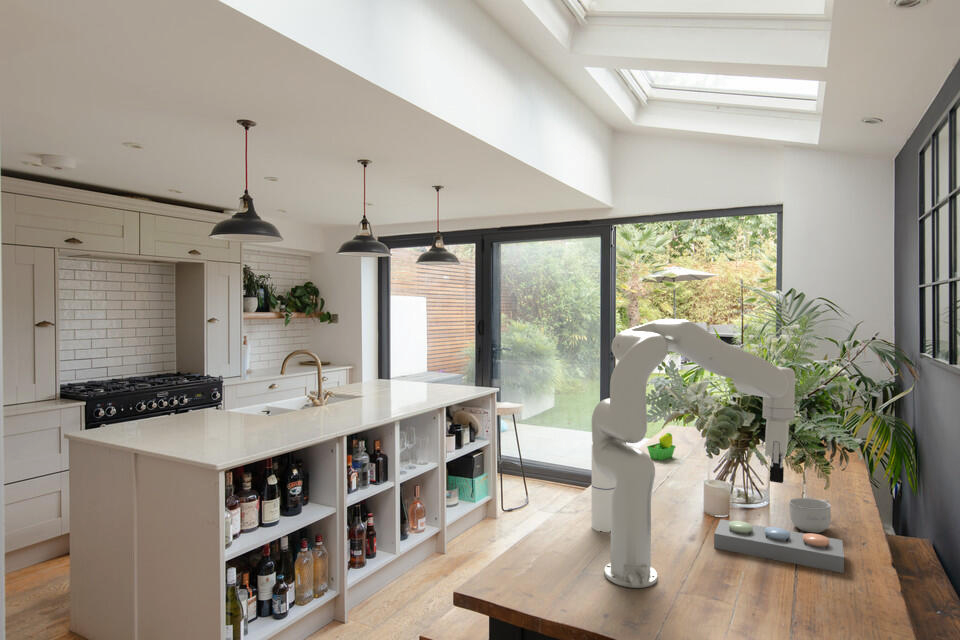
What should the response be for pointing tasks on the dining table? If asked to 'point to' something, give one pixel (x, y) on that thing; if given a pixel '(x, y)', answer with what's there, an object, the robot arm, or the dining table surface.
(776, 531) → the button slate
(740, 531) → the button sage
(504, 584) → the dining table surface
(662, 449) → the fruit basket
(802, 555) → the button panel
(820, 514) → the teacup
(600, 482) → the cylindrical container
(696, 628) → the dining table surface
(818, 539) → the button terracotta
